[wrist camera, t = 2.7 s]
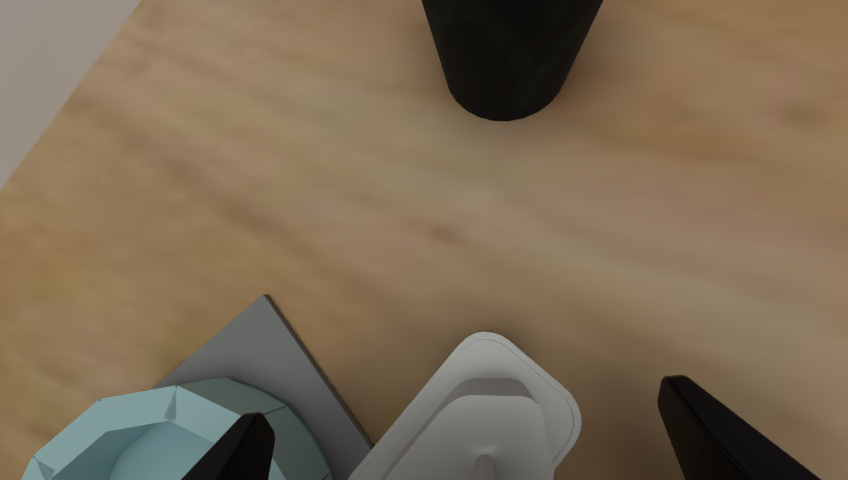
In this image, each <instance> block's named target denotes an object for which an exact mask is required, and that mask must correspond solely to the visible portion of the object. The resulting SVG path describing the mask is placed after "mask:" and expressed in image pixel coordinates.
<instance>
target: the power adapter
mask: <svg viewBox="0 0 848 480" xmlns="http://www.w3.org/2000/svg"><path fill="white" fill-rule="evenodd" d="M581 427H582V418H581V413H580V410H579V407H578V405H577V403H576V401H575V399H574V398H573V396H572V395H571V394H570V392H569V391H568V390H567V389H566V388H564V387H563V386H562V385H561V384H560V383H559V382H557V381H556V380H555V379H554V378H553V377H551V376H550V375H549V374H548V373H547V372H546V371H544V370H543V369H542V368H541V367H540V366H539V365H537V364H536V363H535V362H534V361H533V360H532V359H530V358H529V357H528V356H527V355H526V354H524V353H523V352H522V351H521V350H520V349H519V348H517V347H516V346H515V345H514V344H513V343H512V342H510V341H509V340H508V339H506V338H505V337H503V336H501V335H499V334H496V333H492V332H487V331H483V332H478V333H474V334H473V335H471V336H469V337H467V338H466V339H465V340H464V341H462V342H461V343H460V344H459V345H458V346H457V348H456V349H455V350H454V351H453V352H452V354H451V355H450V356H449V357H448V358H447V360H446V361H445V362H444V363H443V365H442V366H441V367H440V368H439V369H438V371H437V372H436V373H435V374H434V375H433V377H432V378H431V379H430V380H429V381H428V383H427V384H426V385H425V386H424V387H423V389H422V390H421V391H420V392H419V393H418V395H417V396H416V397H415V398H414V399H413V401H412V402H411V403H410V404H409V405H408V407H407V408H406V409H405V410H404V411H403V413H402V414H401V415H400V416H399V417H398V419H397V420H396V421H395V422H394V424H393V425H392V426H391V427H390V428H389V430H388V431H387V432H386V433H385V434H384V436H383V437H382V438H381V439H380V440H379V442H378V443H377V444H376V445H375V446H374V448H373V449H372V450H371V451H370V452H369V454H368V455H367V456H366V457H365V458H364V460H363V461H362V462H361V463H360V464H359V466H358V467H357V468H356V469H355V470H354V472H353V473H352V474H351V475H350V477H349V478H348V480H554V470H555V469H556V468H557V466H558V465H559V464H560V462H561V461H562V460H563V459H564V457H565V456H566V455H567V454H568V452H569V451H570V450H571V448H572V447H573V446H574V444H575V442H576V440H577V439H578V437H579V433H580V430H581Z"/></svg>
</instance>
